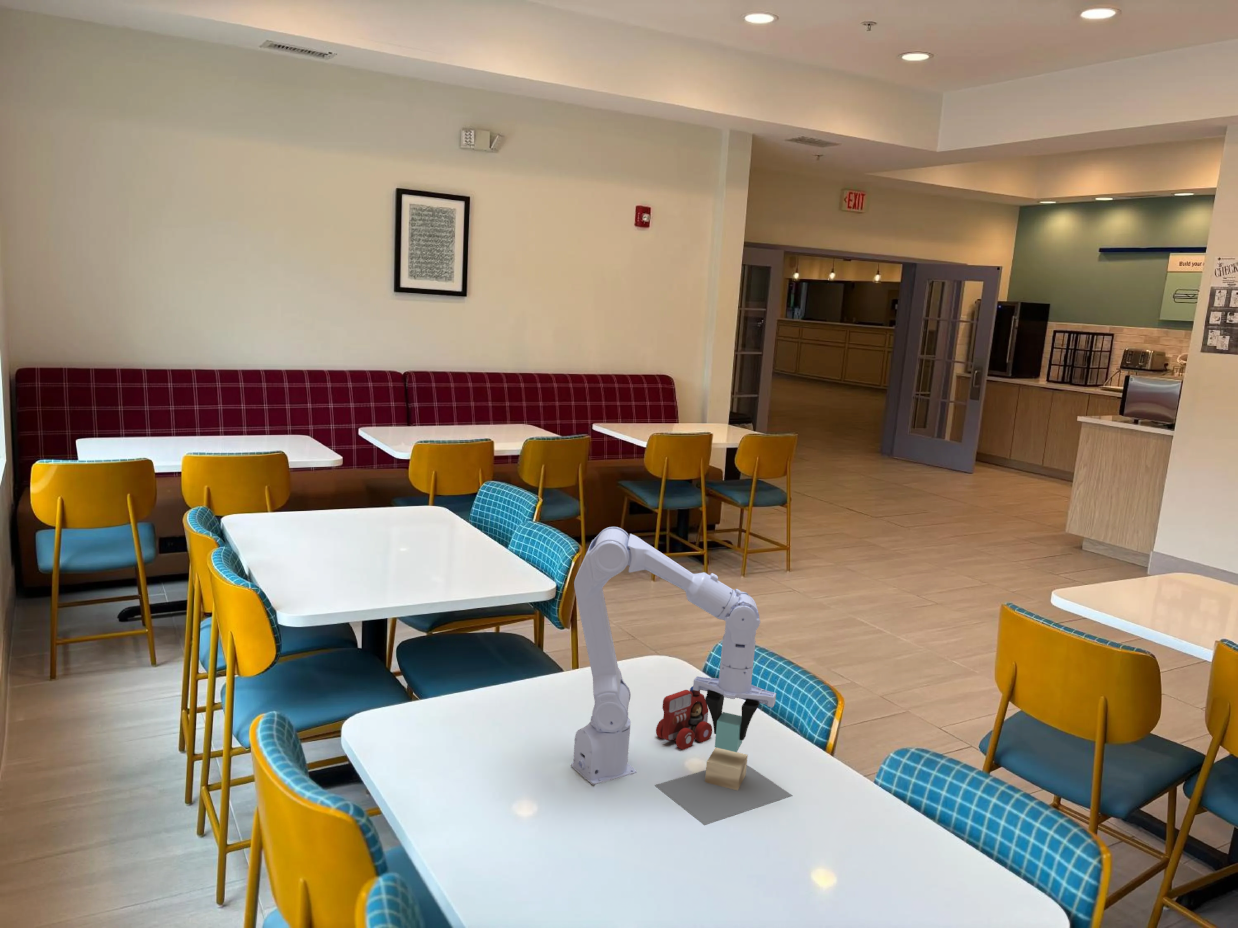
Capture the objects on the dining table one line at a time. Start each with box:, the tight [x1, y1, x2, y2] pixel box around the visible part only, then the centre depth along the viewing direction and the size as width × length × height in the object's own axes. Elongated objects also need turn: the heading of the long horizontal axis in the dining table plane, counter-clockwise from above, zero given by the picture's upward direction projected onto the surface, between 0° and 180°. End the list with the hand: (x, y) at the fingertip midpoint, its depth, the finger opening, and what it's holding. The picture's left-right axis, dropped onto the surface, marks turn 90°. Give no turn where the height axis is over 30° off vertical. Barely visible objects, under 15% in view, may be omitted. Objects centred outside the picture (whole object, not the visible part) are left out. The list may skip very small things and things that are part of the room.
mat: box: [653, 764, 793, 826], centre depth 164 cm, size 20×14×1 cm
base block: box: [705, 746, 749, 790], centre depth 168 cm, size 6×6×4 cm
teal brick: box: [714, 711, 743, 752], centre depth 166 cm, size 4×4×5 cm
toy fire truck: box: [655, 686, 713, 751], centre depth 182 cm, size 7×12×10 cm, turn 133°
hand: (729, 734), depth 167 cm, fingers closed on teal brick, 4 cm apart
